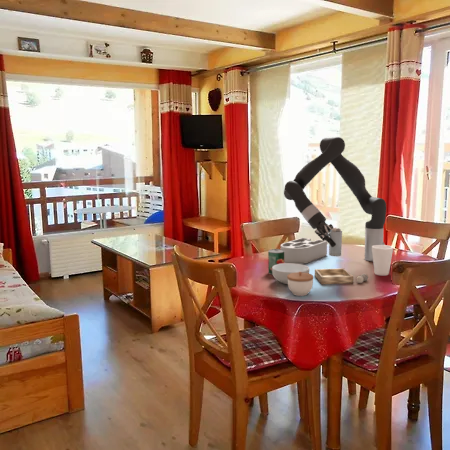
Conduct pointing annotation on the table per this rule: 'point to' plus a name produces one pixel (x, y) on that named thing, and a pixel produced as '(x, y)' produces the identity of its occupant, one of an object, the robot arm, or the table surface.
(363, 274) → the pebble
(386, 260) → the foam cup
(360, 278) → the pebble
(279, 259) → the canned tomato
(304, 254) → the ice cube tray
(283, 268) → the cereal bowl
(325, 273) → the birch tray
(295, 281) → the lidded jar
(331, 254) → the pebble jar
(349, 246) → the table surface
